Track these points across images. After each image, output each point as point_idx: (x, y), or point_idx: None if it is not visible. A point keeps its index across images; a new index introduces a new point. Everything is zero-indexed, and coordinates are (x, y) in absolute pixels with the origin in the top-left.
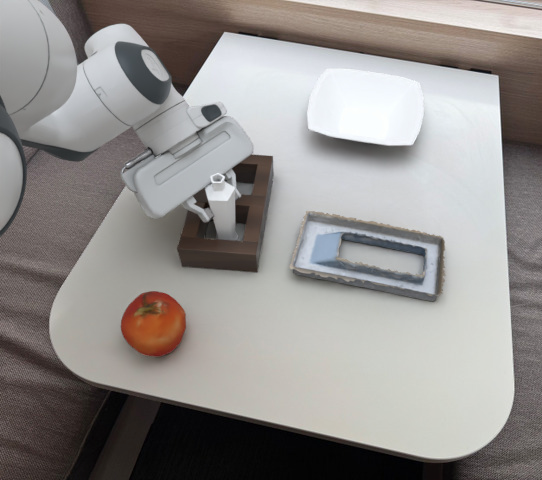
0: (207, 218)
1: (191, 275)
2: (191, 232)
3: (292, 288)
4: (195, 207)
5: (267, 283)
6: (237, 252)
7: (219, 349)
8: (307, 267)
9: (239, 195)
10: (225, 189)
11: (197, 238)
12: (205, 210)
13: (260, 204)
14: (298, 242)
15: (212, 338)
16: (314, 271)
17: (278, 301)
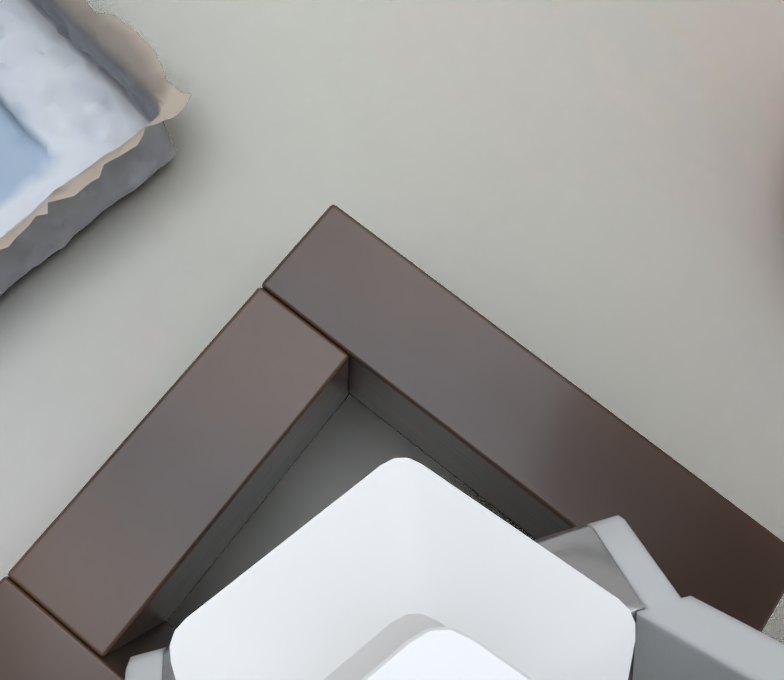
0: (615, 528)
1: None
2: None
3: (234, 98)
4: (769, 660)
5: (327, 190)
6: (433, 285)
7: (691, 28)
8: (86, 144)
9: (146, 661)
10: (339, 627)
11: None
12: (625, 604)
13: (12, 619)
14: (14, 229)
15: (699, 86)
16: (81, 13)
17: (338, 78)
